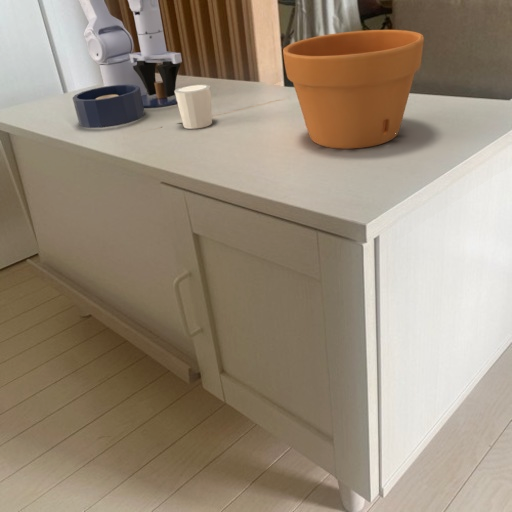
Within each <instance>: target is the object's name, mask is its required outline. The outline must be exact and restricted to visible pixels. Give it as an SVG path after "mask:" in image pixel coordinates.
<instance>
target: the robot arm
mask: <svg viewBox="0 0 512 512" xmlns="http://www.w3.org/2000/svg"><path fill="white" fill-rule="evenodd" d="M78 2H79V5H80V8H81V10H82V11H83V13H84V16H85V18H86V20H87V22H88V24H87V26H86V27H85V29H84V32H83V36H84V37H83V38H84V40H85V42H86V48H87V52H88V54H89V56H90V57H91V59H92V60H93V61H94V62H95V64H96V65H99V70H100V74H101V80H102V82H103V87H105V86H113V85H136V86H138V87H140V91H141V96H142V95H145V94H148V95H150V96H151V95H154V94H156V90H155V84H154V83H155V82H157V80H156V70H157V71H158V74H159V76H160V78H161V81H163V84H164V89H165V93H166V96H167V97H170V96H173V95H175V90H176V85H177V78H178V73H179V71H180V67H181V63H183V60H182V59H183V58H182V53H181V52H173V51H168V49H167V44H166V39H165V32H164V26H163V21H162V15H161V9H160V4H159V0H127V2H128V5H129V9H130V10H131V12H132V15H133V19H134V25H135V29H136V34H137V40H138V45H139V50H140V52H139V51H138V52H134V47H135V45H134V40H133V37H132V34H131V33H130V32H129V31H128V29H126V27H125V26H124V22H123V21H122V20H121V19H118V18H117V17H115V16H114V15H112V14H111V12H110V10H109V8H108V6H107V4H106V1H105V0H78ZM157 63H159V65H158V64H157Z"/></svg>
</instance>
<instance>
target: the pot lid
mask: <svg viewBox="0 0 512 512" xmlns="http://www.w3.org/2000/svg"><path fill="white" fill-rule="evenodd" d="M154 84H155V90H156V94H154V95H151V96H150V95H148V93H147V94H145V95H142V101H143V106H144V109H153V108H155V109H156V108H163V107H169V106H174V105H178V103H177V99H176V95H173V96H170V97H167V96H166V93H165V89H164V84H163V81H162V80H156V82H155V83H154Z"/></svg>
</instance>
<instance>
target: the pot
mask: <svg viewBox="0 0 512 512" xmlns="http://www.w3.org/2000/svg"><path fill="white" fill-rule="evenodd" d="M105 95H119V96H115V97H110V98H104V99H96V98H98V97H101V96H105ZM72 102H73V105H74V109H75V113H76V116H77V120H78V124H79V126H81V127H82V128H89V129H101V128H110V127H116V126H121V125H126V124H129V123H132V122H134V121H138V120H139V119H141V118H142V117H144V116H145V108H144V106H143V101H142V96H141V91H140V87H138V86H136V85H113V86H105V87H104V86H101V87H100V86H99V87H95V88H91V89H90V88H89V89H88V90H87V89H86V90H84V91H81V92H79V93H77V94H74V95H73V97H72Z"/></svg>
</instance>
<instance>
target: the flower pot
mask: <svg viewBox="0 0 512 512" xmlns="http://www.w3.org/2000/svg"><path fill="white" fill-rule="evenodd" d="M424 43H425V37H424V35H423V34H422V33H420V32H418V31H411V30H405V29H367V30H366V29H365V30H353V31H344V32H336V33H330V34H324V35H318V36H314V37H310V38H304V39H302V40H301V39H300V40H298V41H295V42H292V43H290V44H287V45H286V46H285V47H284V48H283V50H282V54H283V63H284V67H285V68H284V69H285V73H286V77H287V79H288V80H289V81H290V82H291V83H292V84H293V87H294V90H295V93H296V97H297V100H298V103H299V107H300V110H301V113H302V116H303V120H304V124H305V127H306V130H307V132H308V135H309V138H310V139H311V141H312V142H313V143H315V144H317V145H318V146H322V147H326V148H331V149H341V150H351V149H353V150H354V149H363V148H364V149H365V148H370V147H375V146H379V145H382V144H385V143H387V142H389V141H392V140H393V139H395V138H396V137H397V136H398V134H399V132H400V130H401V125H402V122H403V117H404V115H405V111H406V107H407V103H408V100H409V97H410V96H409V95H410V92H411V90H412V89H411V88H412V86H413V81H414V79H415V74H416V72H418V70H419V69H420V68H421V67H422V58H423V51H424V50H423V49H424ZM395 133H396V134H395Z"/></svg>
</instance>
